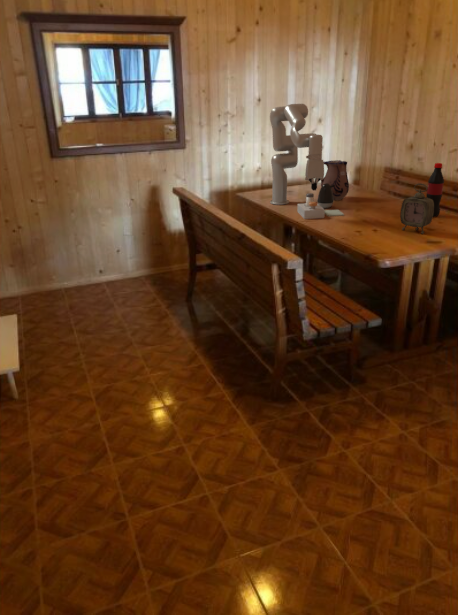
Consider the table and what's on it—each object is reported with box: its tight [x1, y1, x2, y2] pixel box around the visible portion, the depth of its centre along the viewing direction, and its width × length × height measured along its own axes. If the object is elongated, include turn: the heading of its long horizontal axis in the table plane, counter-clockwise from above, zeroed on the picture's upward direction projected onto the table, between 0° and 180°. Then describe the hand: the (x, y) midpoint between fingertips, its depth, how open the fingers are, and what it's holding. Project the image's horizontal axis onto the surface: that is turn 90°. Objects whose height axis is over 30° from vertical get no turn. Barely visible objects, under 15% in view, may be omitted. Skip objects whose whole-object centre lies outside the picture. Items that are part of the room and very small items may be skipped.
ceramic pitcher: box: [320, 159, 350, 201], centre depth 337 cm, size 18×21×25 cm
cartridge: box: [305, 192, 315, 207], centre depth 305 cm, size 4×4×12 cm
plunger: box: [309, 201, 318, 209], centre depth 298 cm, size 5×5×6 cm
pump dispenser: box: [316, 183, 335, 209], centre depth 319 cm, size 10×10×15 cm
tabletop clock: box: [399, 182, 434, 235], centre depth 262 cm, size 14×9×25 cm, turn 45°
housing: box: [297, 202, 326, 220], centre depth 304 cm, size 18×12×5 cm, turn 6°
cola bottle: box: [426, 162, 445, 218], centre depth 289 cm, size 8×8×30 cm
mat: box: [324, 209, 345, 217], centre depth 306 cm, size 12×10×1 cm
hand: (314, 190), depth 294 cm, fingers closed
